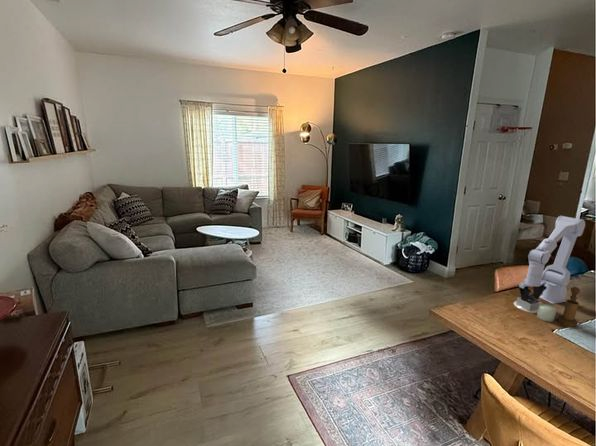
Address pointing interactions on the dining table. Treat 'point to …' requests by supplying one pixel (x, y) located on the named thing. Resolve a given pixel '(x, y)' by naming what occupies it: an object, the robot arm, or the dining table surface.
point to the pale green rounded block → (546, 312)
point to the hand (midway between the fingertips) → (529, 299)
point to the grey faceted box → (528, 304)
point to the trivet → (524, 309)
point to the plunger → (530, 297)
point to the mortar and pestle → (570, 310)
